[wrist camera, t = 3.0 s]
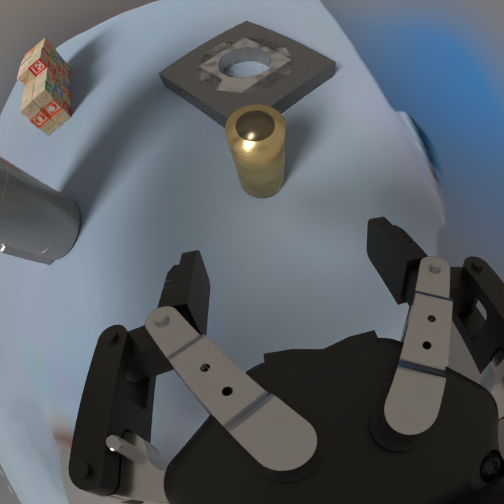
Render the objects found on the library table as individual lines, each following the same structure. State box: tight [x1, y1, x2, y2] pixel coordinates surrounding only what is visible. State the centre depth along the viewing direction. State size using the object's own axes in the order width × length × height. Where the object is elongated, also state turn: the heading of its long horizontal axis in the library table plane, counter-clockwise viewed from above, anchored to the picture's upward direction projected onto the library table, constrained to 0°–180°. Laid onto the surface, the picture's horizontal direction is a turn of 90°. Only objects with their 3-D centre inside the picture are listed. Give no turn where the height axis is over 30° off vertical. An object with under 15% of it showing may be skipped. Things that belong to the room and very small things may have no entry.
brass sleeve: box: [225, 104, 286, 198], centre depth 26 cm, size 5×5×10 cm
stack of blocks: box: [17, 38, 71, 135], centre depth 33 cm, size 21×6×12 cm, turn 27°
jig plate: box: [159, 21, 336, 128], centre depth 33 cm, size 18×18×3 cm
